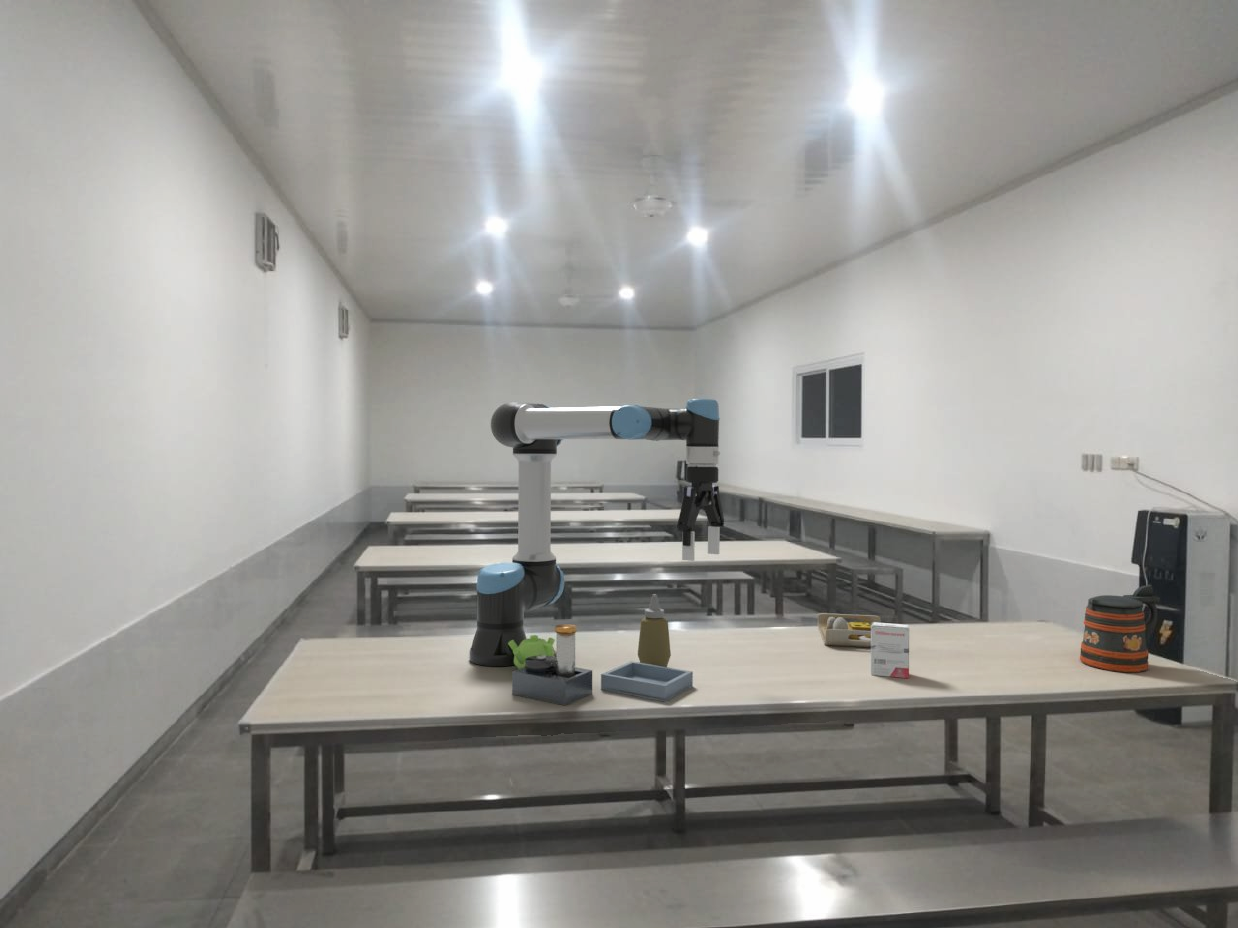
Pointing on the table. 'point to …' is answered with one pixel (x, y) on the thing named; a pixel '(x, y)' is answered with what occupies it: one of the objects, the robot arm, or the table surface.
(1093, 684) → the table surface
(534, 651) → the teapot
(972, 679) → the table surface
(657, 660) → the squeeze bottle
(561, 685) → the grey boxy piece
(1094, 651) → the beer stein
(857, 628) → the toy food set
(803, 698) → the table surface
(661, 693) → the parts tray
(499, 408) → the robot arm
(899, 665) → the ink box
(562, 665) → the glass jar with lid
